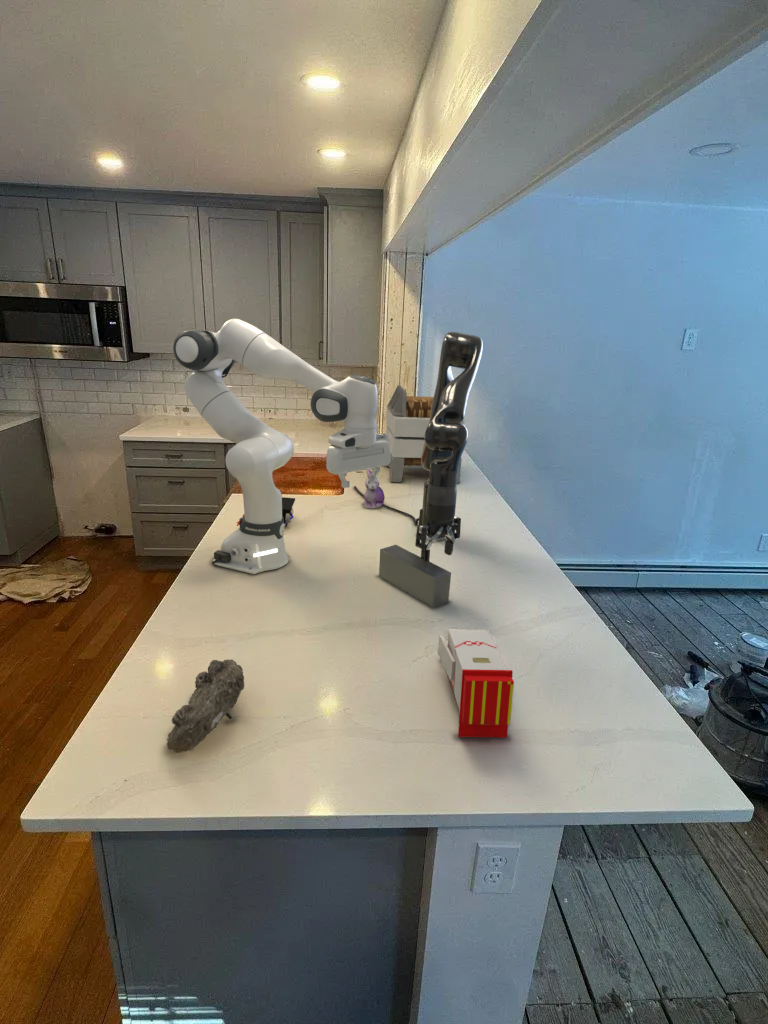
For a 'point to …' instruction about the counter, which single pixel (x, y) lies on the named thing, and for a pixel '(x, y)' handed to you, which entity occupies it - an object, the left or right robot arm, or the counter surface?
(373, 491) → the figurine
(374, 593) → the counter surface
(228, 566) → the left robot arm
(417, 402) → the grey crate
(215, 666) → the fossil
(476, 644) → the toy
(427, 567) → the box
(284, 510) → the figurine character
